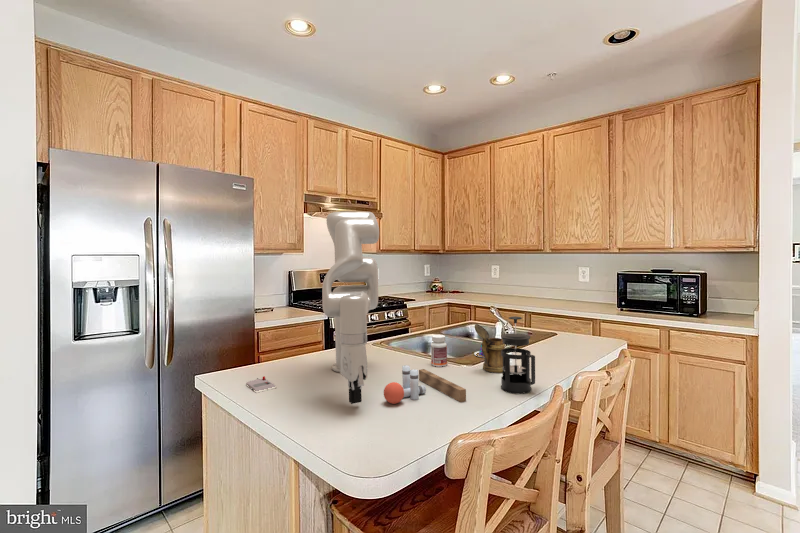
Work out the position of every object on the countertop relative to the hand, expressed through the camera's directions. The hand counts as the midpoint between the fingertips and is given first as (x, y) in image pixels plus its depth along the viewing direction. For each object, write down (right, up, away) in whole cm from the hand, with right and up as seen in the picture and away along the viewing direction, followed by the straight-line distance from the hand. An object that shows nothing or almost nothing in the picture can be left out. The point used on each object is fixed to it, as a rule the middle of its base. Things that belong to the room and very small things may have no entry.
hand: (355, 402), depth 116 cm
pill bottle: (+28, 0, +42) cm, 50 cm away
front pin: (+13, 0, +7) cm, 14 cm away
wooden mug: (+46, 0, +33) cm, 57 cm away
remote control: (-34, -2, +21) cm, 40 cm away
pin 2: (+17, -1, +6) cm, 18 cm away
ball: (+11, +2, +3) cm, 11 cm away
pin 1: (+15, -1, +11) cm, 18 cm away
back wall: (+26, -1, +13) cm, 29 cm away
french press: (+50, 0, +12) cm, 51 cm away
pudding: (+50, +1, +55) cm, 75 cm away
